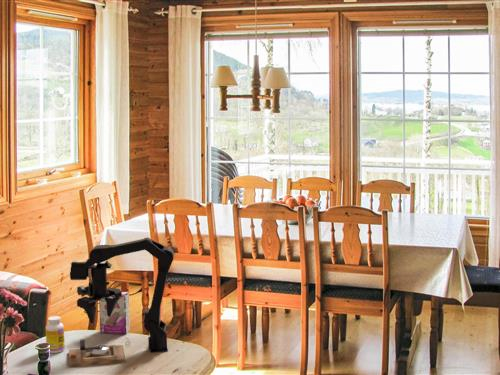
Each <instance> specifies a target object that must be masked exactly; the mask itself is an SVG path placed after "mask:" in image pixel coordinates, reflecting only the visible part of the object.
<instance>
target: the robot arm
mask: <svg viewBox="0 0 500 375" xmlns="http://www.w3.org/2000/svg"><path fill="white" fill-rule="evenodd" d="M141 251H146V252H148V253H149V254H150V255H151V256H153V257H154V258H155V259H157V274H156V278H155V284H154V285H155V286H154V289H153V290H154V291H153V293H152V294H153V295H152V299H151V304H150V307H149V308H148V307H145V312H144V317H143V319H142V320H143V321H142V324H143V328H144V329H145V330H146V331H147V332H148V333H149V336H148V337H147V342H148V343H147V345H148V350H150V351H149V352H150V353H159V352H168V351H169V350H168V333H167V331H166V330H167V323H165V322H164V321H163V320H162V302H163V297H164V293H165V292H164V291H165V287H166V282H167V278H168V273H169V270H171V269H170V268H171V267H172V264H173V261H174V257H175V250H174V249H173V248H172V247H170V246H165V245H163V244H162V243H159V242H158V241H156V240H154V239H151V238H150V237H144V238H140V239H136V240H132V241H127V242H123V243H118V244H97V245H95V246H94V247H92V249H91V251H90V252H89V255H88V256H89V257H88V258H87V259H86V261H71V263H70V271H69V277H70V278H69V279H70V280H71V281H86V280H88V278H91V280H90V282H88V285H87V286H84V285H80V286H77V287H76V292H77V295H78V296H81V297H80V298H77V300H76V307H78V308H80V309H83V310H84V311H85V314H86V315H87V318H88V320H89V322H90V324H94V322H95V318H96V317H95V316H96V311H97V306H96V304H97V302H99V300H102V299H105V301H106V306H107V315H108V317H110V316H111V314H112V312H113V310H114V307H115V305H116V303H117V302H118V300H119V299H120V298H119V297H122V292H123V291H122V290H121V288H116V287H109V288H108V286H109V285H110V281H108V276H107V275H108V273H107V272H108V270H107V269H111V268H112V266H113V265H112V263H110V262H109V261H108V260H111V259H112V258H115V257H117V256H123V255H127V254H133V253H137V252H141Z"/></svg>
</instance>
